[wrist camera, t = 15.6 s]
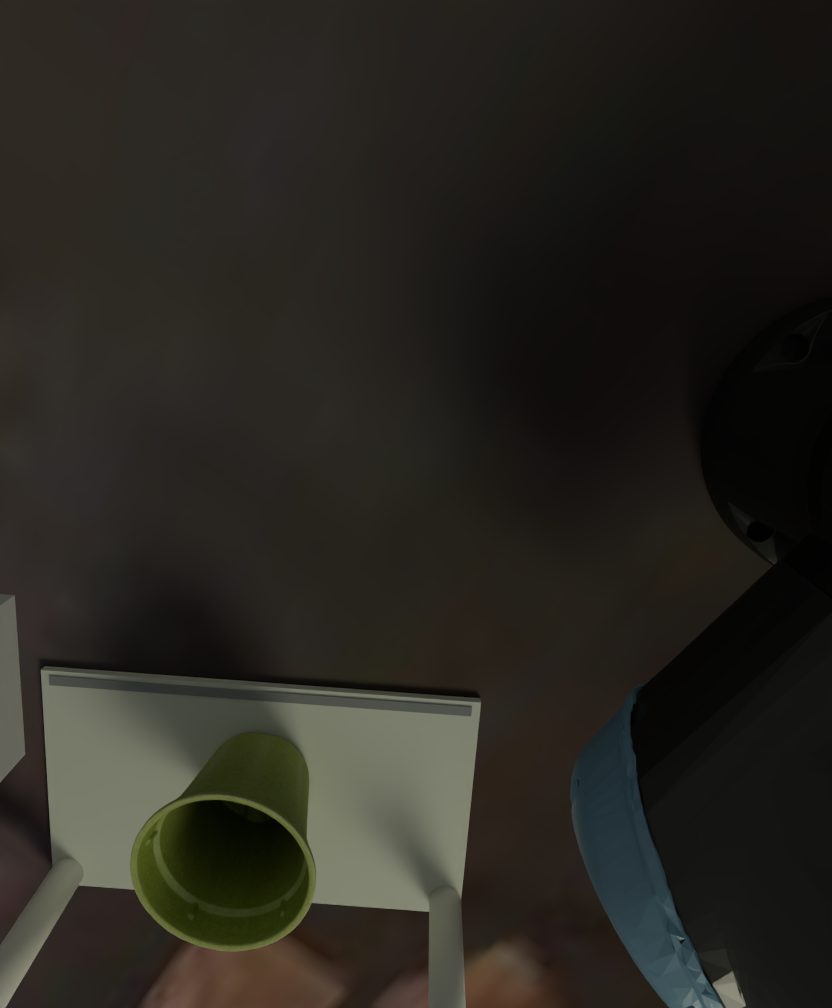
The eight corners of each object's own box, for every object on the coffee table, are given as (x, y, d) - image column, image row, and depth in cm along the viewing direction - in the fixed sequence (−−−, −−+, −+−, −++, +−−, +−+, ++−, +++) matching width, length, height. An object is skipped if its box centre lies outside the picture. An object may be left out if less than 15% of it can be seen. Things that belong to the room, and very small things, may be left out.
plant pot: (256, 867, 50) (220, 982, 42) (150, 765, 48) (90, 864, 40) (367, 784, 48) (354, 887, 40) (262, 676, 47) (224, 760, 38)
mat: (480, 698, 47) (492, 809, 37) (459, 908, 51) (465, 1060, 41) (44, 666, 47) (-62, 768, 37) (57, 877, 51) (-36, 1022, 41)
